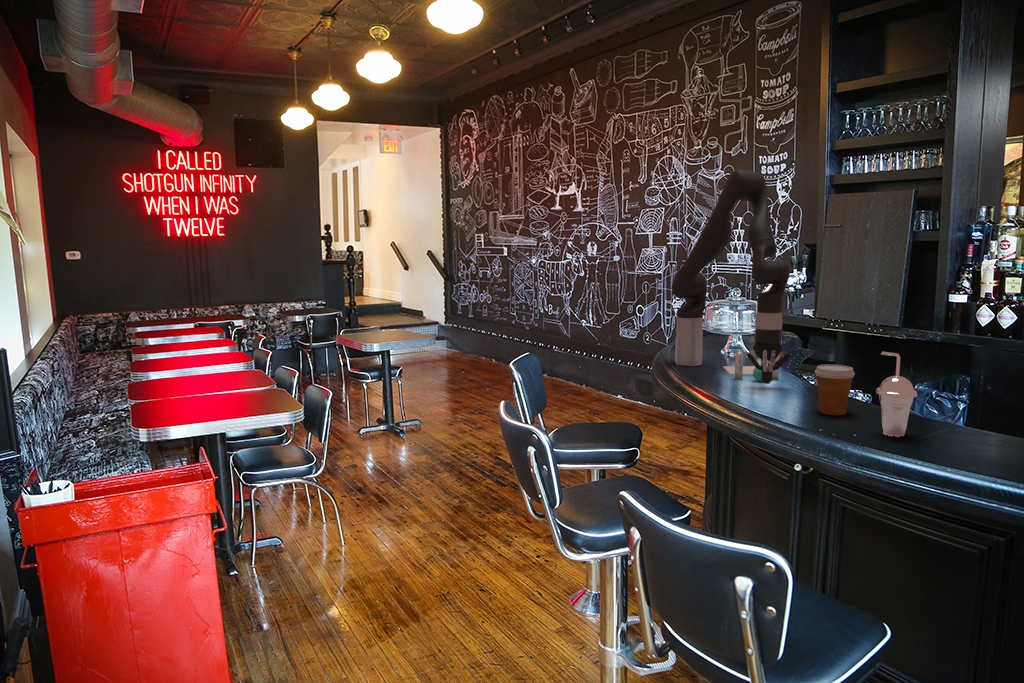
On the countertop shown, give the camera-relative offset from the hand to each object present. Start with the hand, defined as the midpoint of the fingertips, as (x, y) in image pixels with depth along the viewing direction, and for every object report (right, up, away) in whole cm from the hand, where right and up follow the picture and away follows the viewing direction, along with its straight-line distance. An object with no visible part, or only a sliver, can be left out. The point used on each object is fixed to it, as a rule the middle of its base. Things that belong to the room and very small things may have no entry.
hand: (766, 383), depth 215 cm
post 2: (+7, +1, +12) cm, 14 cm away
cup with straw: (+12, -9, -50) cm, 52 cm away
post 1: (-4, +1, +14) cm, 14 cm away
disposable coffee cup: (+7, -6, -29) cm, 31 cm away
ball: (+2, +2, +9) cm, 10 cm away
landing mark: (+3, +3, +27) cm, 27 cm away
